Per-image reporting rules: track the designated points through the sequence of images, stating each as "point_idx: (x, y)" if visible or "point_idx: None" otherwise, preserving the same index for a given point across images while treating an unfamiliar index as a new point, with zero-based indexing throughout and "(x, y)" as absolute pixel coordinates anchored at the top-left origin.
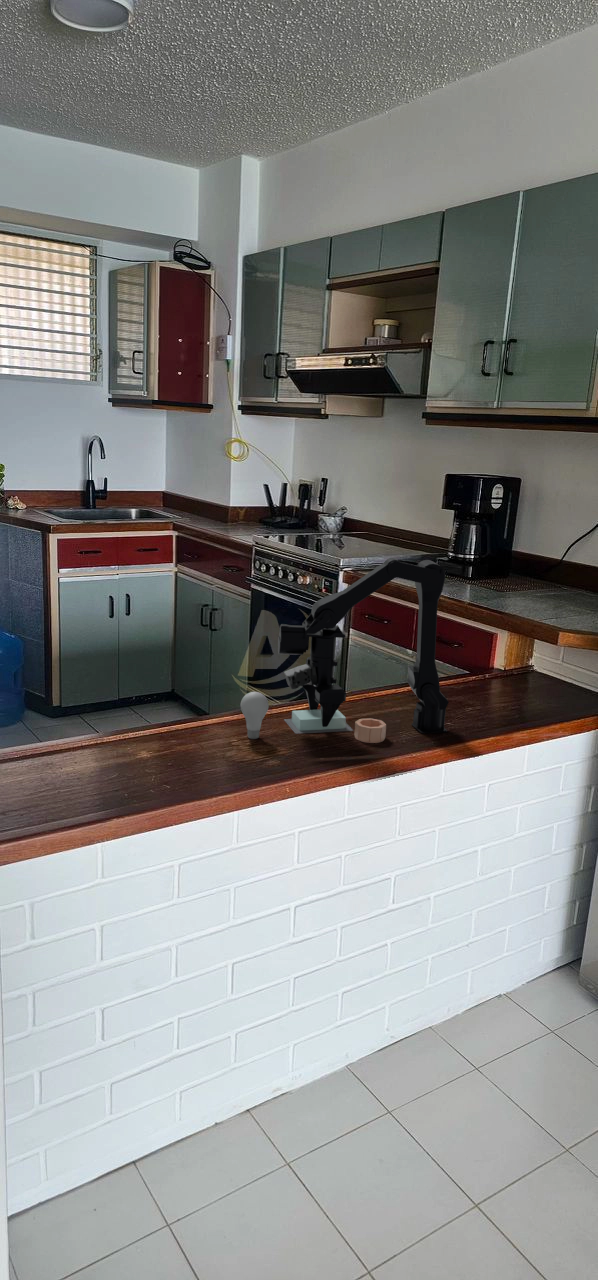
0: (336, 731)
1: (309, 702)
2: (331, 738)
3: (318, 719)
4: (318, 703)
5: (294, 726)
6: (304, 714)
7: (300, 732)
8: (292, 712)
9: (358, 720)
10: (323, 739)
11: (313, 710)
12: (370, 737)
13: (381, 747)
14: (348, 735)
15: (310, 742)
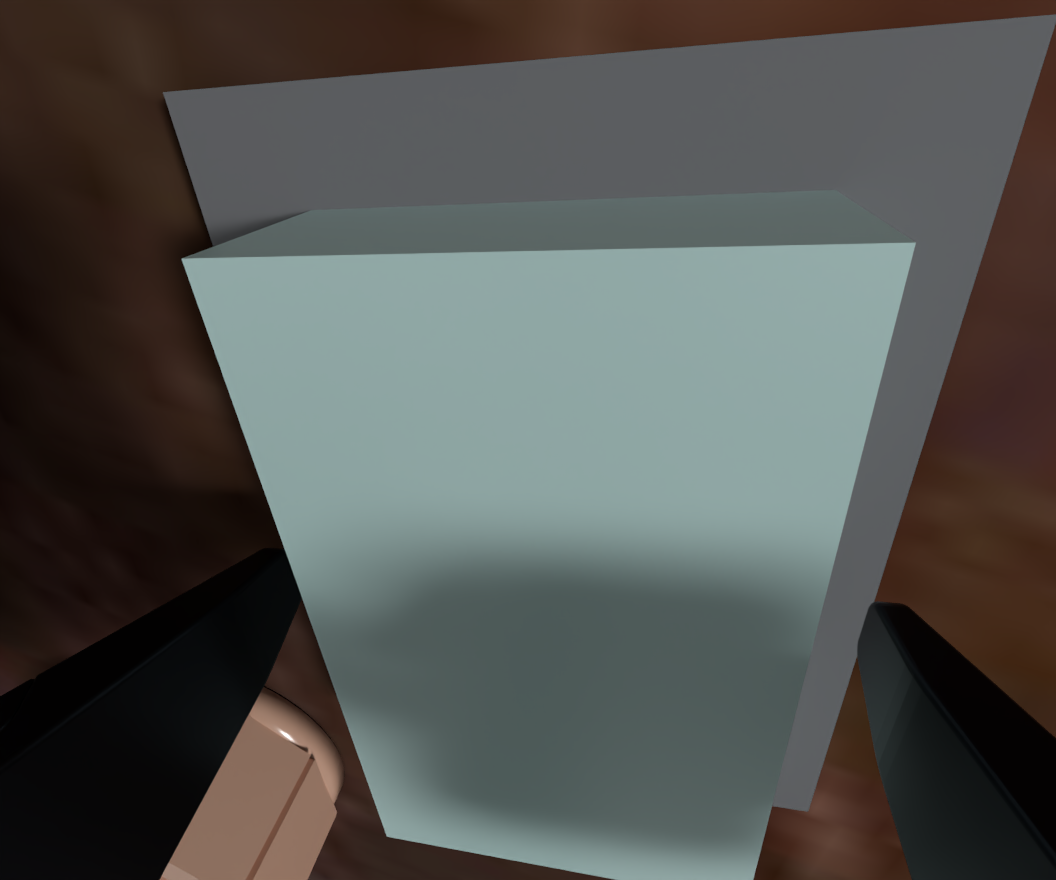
0: None
1: (989, 784)
2: (215, 521)
3: (298, 576)
4: (911, 866)
5: (520, 170)
6: (537, 452)
7: (229, 201)
8: (862, 234)
9: (181, 874)
10: (166, 439)
11: (762, 669)
12: None
13: None
14: (323, 670)
15: (19, 261)
